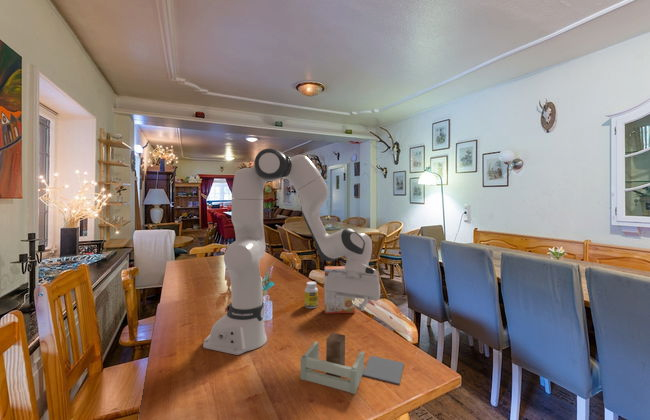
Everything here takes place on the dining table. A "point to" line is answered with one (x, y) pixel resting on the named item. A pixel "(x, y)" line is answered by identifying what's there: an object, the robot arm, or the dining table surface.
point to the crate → (331, 371)
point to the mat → (384, 369)
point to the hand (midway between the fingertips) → (347, 307)
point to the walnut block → (335, 350)
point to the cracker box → (338, 297)
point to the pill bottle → (311, 295)
